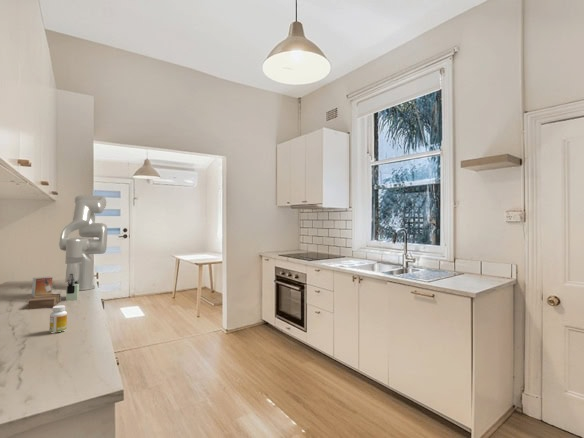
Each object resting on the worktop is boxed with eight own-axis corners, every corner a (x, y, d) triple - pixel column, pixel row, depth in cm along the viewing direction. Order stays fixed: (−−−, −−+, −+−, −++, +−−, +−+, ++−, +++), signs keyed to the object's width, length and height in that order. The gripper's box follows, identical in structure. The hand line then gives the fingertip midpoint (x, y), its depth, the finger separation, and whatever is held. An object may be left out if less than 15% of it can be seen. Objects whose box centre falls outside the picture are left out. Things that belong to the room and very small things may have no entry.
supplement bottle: (69, 328, 127) (70, 304, 127) (62, 333, 122) (63, 308, 122) (53, 329, 126) (54, 304, 126) (46, 334, 121) (47, 308, 121)
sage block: (67, 298, 176) (68, 284, 176) (78, 297, 178) (79, 283, 178) (65, 300, 171) (66, 285, 172) (76, 299, 174) (77, 285, 174)
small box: (34, 297, 176) (35, 278, 176) (31, 296, 180) (32, 277, 180) (52, 295, 183) (52, 277, 183) (48, 294, 186) (49, 276, 186)
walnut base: (36, 302, 166) (37, 295, 166) (60, 301, 170) (60, 293, 170) (28, 309, 153) (28, 301, 153) (53, 307, 157) (53, 299, 157)
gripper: (68, 259, 181) (67, 289, 181) (62, 262, 166) (60, 295, 165) (84, 259, 185) (83, 288, 184) (79, 261, 169) (77, 294, 168)
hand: (72, 291), depth 174 cm, fingers open, 9 cm apart
